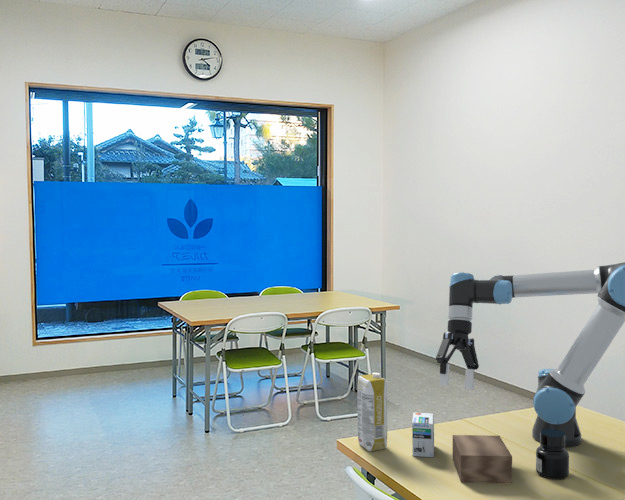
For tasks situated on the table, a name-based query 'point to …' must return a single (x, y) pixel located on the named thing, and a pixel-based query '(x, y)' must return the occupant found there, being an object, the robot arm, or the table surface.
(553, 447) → the ink bottle
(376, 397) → the juice carton
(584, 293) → the robot arm
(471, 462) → the walnut block
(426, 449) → the light bulb box
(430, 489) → the table surface
